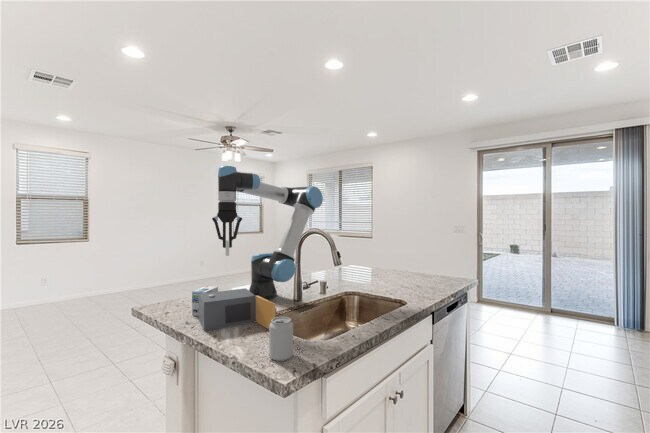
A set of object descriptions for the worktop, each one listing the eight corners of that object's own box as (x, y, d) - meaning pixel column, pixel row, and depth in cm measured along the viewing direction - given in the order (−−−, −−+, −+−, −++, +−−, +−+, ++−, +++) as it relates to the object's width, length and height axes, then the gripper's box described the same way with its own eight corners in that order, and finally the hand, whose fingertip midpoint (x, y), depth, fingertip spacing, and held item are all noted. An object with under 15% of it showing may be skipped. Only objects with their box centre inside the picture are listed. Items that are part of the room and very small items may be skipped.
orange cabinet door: (254, 321, 130) (254, 295, 130) (258, 320, 132) (258, 294, 131) (272, 331, 119) (272, 304, 119) (277, 330, 120) (277, 303, 120)
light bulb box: (205, 316, 137) (205, 292, 136) (191, 315, 138) (191, 291, 138) (218, 309, 147) (218, 286, 147) (205, 308, 148) (205, 285, 148)
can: (264, 360, 98) (264, 321, 97) (276, 350, 105) (276, 314, 104) (286, 364, 95) (286, 324, 95) (297, 353, 102) (297, 316, 102)
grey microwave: (248, 312, 143) (248, 286, 143) (258, 321, 131) (258, 294, 131) (198, 319, 133) (198, 292, 133) (204, 331, 120) (204, 301, 120)
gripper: (211, 201, 133) (211, 257, 133) (243, 201, 137) (243, 255, 138) (211, 201, 140) (211, 254, 140) (241, 202, 144) (241, 253, 145)
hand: (227, 255), depth 139 cm, fingers closed
